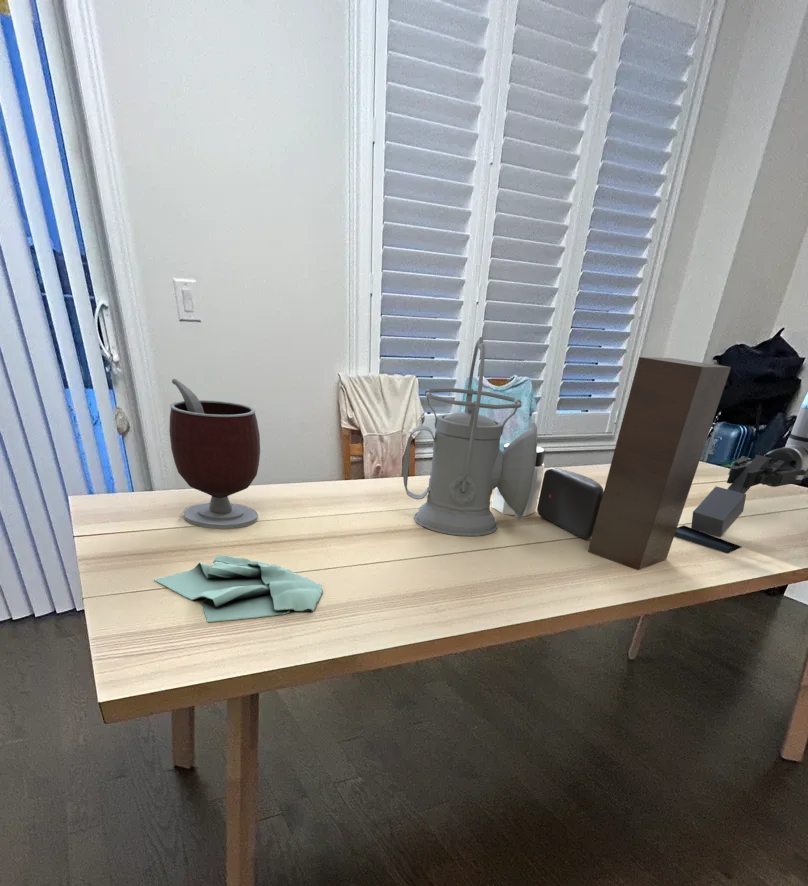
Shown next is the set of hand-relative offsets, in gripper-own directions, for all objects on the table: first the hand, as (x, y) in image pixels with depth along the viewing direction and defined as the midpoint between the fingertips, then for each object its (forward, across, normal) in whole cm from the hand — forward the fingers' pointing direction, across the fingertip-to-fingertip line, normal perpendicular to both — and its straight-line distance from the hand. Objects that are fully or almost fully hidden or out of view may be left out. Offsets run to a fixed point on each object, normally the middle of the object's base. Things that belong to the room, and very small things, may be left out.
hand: (739, 478), depth 121 cm
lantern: (+44, +32, -11) cm, 55 cm away
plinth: (+29, +4, -11) cm, 32 cm away
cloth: (+93, +26, -11) cm, 98 cm away
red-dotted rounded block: (+26, +20, -11) cm, 35 cm away
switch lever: (-2, 0, -5) cm, 5 cm away
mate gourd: (+80, +54, -11) cm, 98 cm away
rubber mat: (+2, 0, -11) cm, 11 cm away
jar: (+26, +32, -11) cm, 43 cm away
